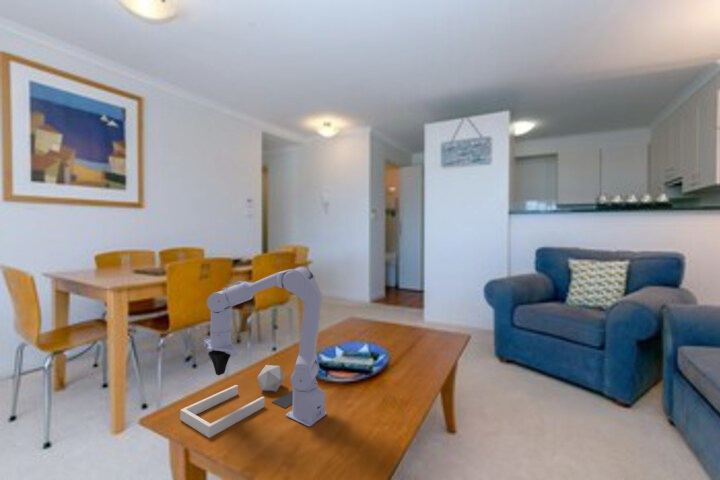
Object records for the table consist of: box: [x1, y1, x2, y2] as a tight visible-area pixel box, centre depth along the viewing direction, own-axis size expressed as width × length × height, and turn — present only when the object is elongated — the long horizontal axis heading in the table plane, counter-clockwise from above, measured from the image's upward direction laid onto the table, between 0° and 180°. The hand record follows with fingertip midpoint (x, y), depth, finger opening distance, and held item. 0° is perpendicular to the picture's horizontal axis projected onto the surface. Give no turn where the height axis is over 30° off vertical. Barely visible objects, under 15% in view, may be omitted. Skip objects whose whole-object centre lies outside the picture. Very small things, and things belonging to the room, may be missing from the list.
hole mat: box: [271, 389, 293, 409], centre depth 106 cm, size 6×10×1 cm, turn 147°
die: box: [256, 364, 285, 393], centre depth 112 cm, size 8×9×10 cm
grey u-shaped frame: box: [179, 384, 266, 439], centre depth 97 cm, size 14×18×3 cm
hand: (220, 373), depth 100 cm, fingers closed
